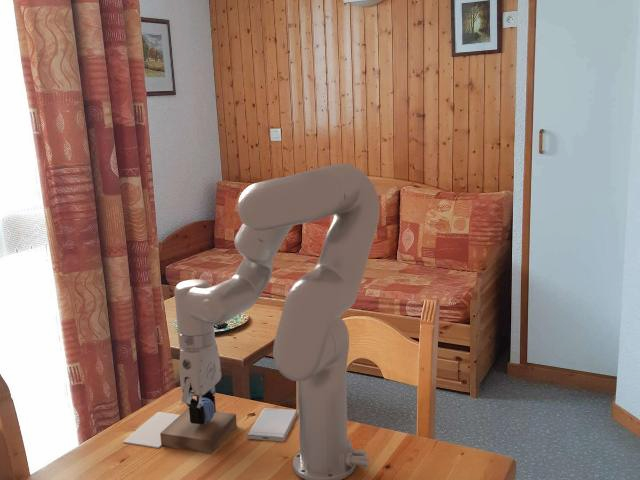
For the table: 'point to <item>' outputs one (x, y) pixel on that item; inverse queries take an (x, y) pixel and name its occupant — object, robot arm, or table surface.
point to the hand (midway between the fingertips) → (203, 416)
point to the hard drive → (272, 424)
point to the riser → (198, 432)
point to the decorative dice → (208, 409)
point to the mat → (151, 430)
